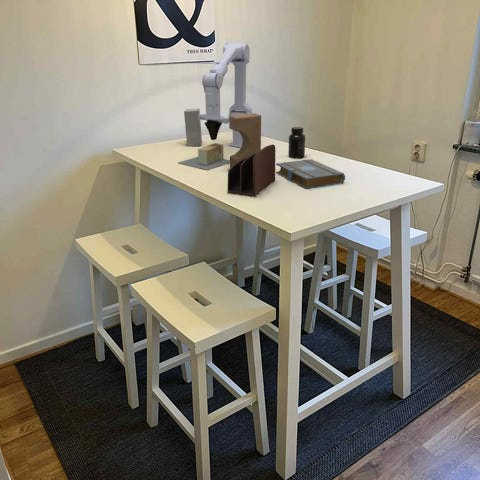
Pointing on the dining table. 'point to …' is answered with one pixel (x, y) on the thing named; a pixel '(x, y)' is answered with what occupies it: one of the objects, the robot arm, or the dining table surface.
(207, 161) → the skincare box
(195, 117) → the skincare box
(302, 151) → the supplement bottle
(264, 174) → the letter holder
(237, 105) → the robot arm
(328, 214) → the dining table surface
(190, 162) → the mat
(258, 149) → the decorative block
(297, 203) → the dining table surface
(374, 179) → the dining table surface
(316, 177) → the book
